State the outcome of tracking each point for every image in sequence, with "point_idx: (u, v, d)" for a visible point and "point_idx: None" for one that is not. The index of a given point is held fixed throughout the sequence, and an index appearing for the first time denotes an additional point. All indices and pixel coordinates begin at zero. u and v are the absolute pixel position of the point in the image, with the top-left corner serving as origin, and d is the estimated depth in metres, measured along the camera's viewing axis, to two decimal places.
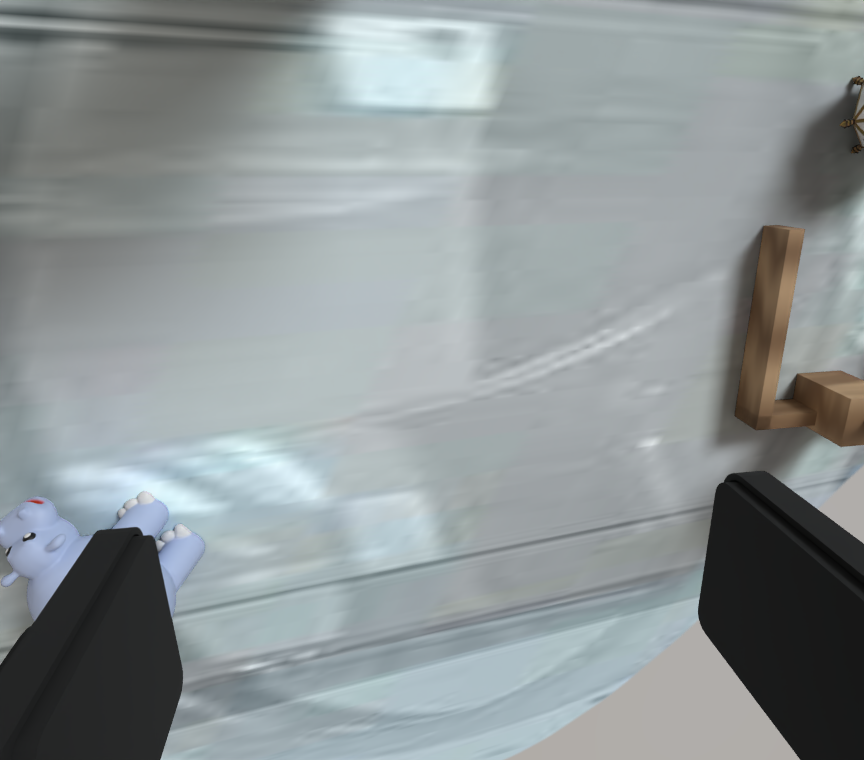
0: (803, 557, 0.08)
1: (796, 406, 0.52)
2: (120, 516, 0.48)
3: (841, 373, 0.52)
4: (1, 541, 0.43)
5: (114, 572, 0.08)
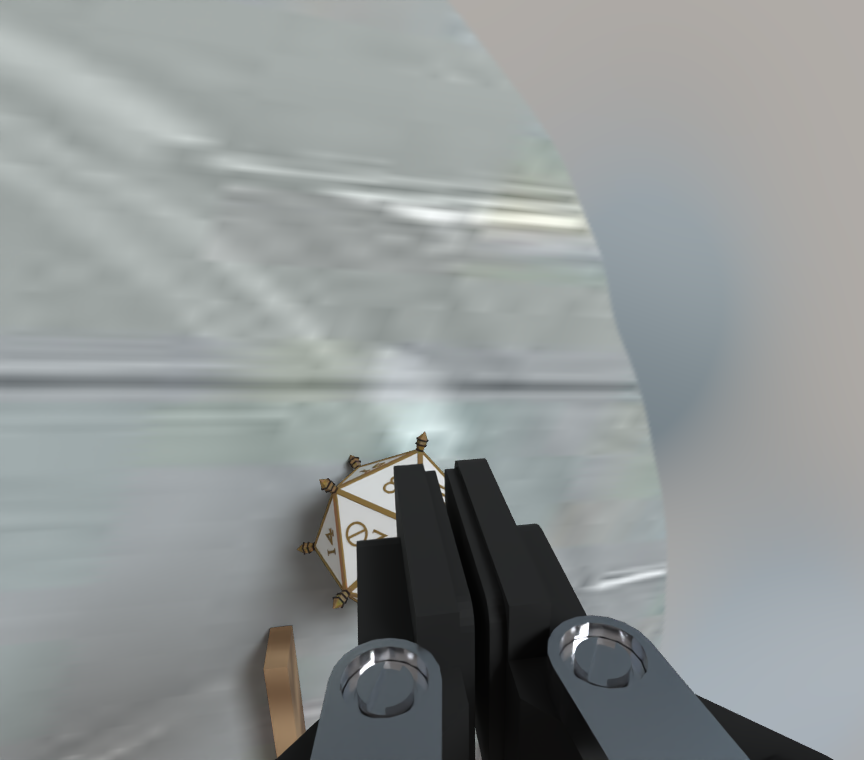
0: (465, 535, 0.09)
1: None
2: None
3: None
4: None
5: None
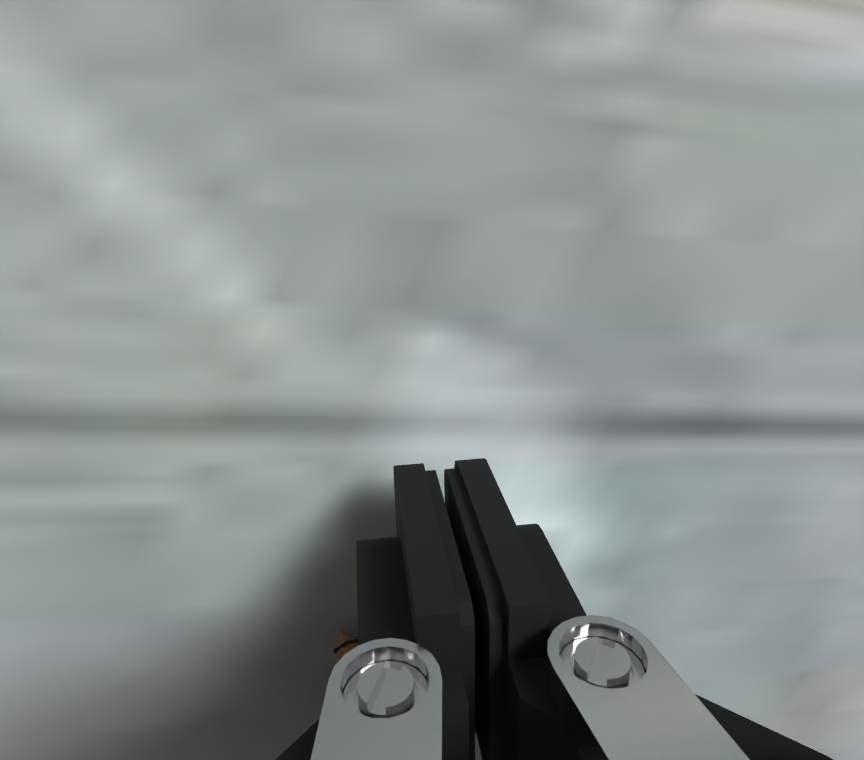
0: (465, 535, 0.09)
1: None
2: None
3: None
4: None
5: (430, 495, 0.10)
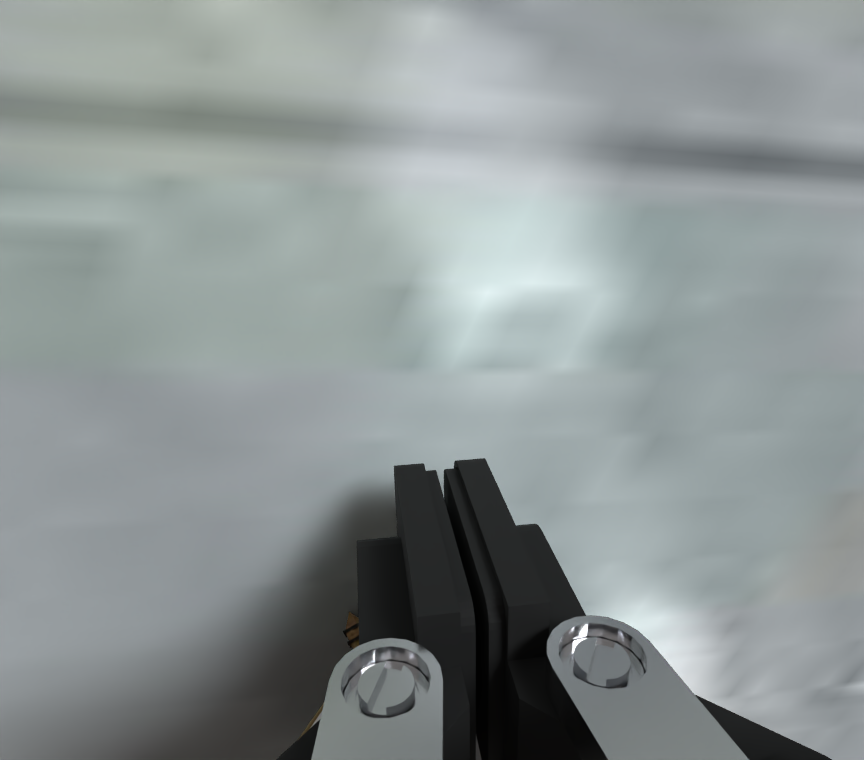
0: (464, 535, 0.09)
1: None
2: None
3: None
4: None
5: None
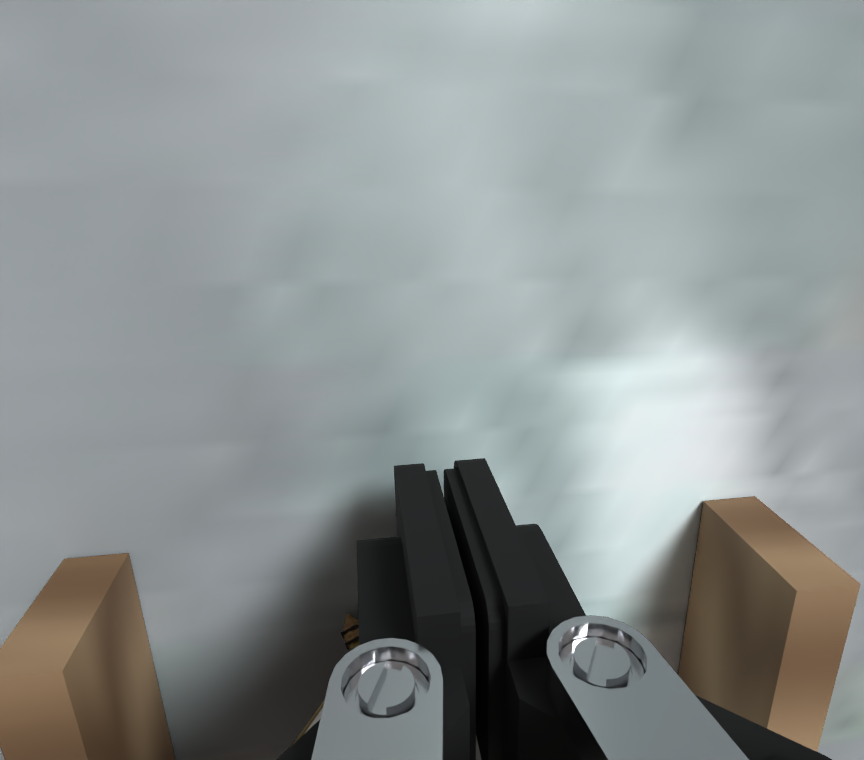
0: (464, 535, 0.09)
1: None
2: None
3: None
4: None
5: None
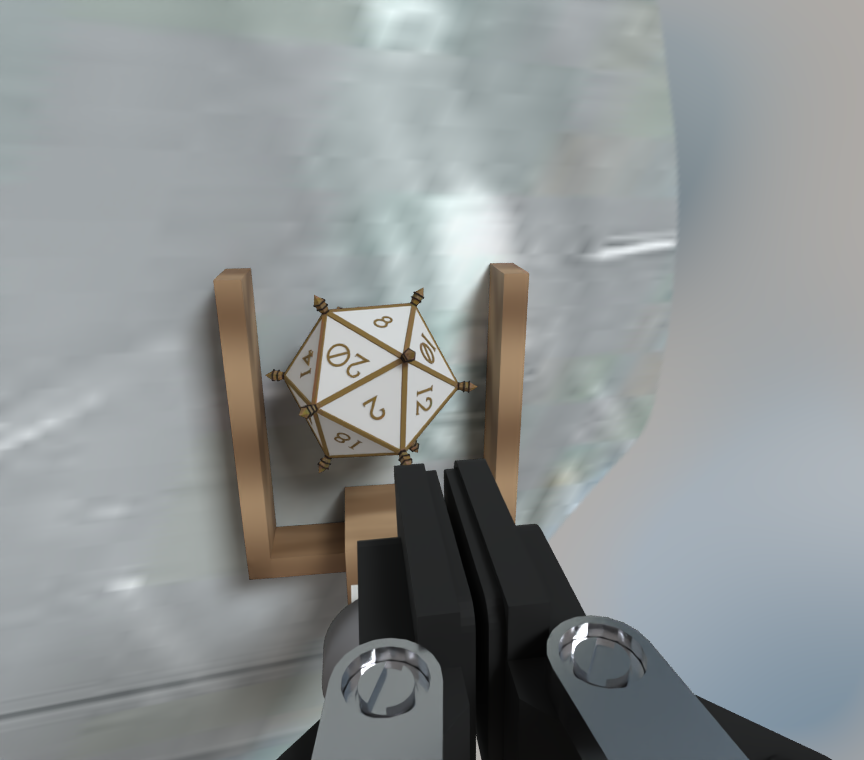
0: (464, 535, 0.09)
1: (331, 539, 0.34)
2: None
3: None
4: None
5: None
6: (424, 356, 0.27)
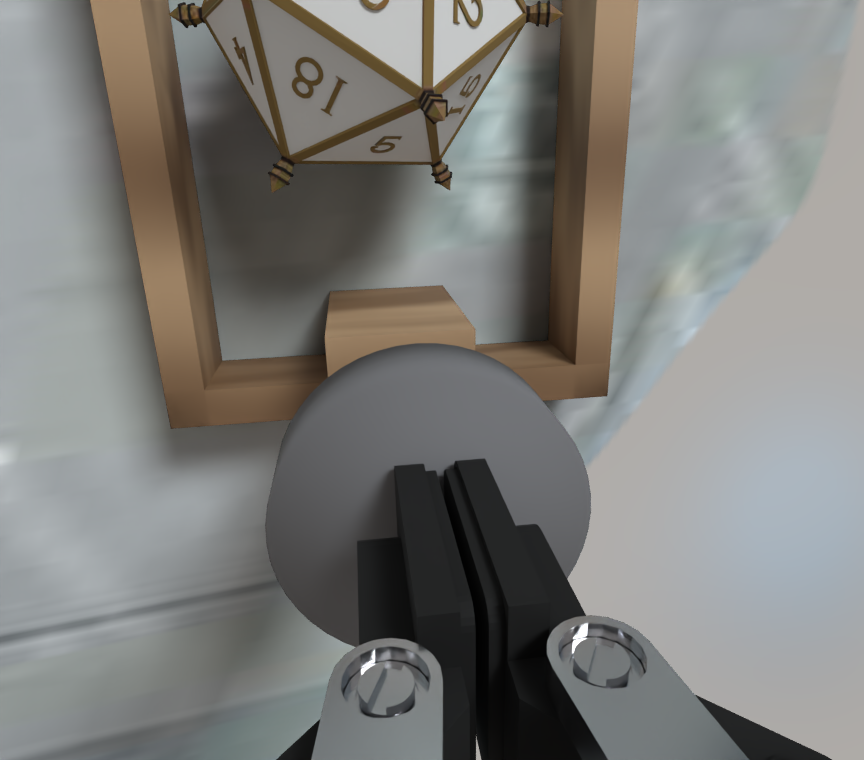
0: (464, 535, 0.09)
1: (309, 369, 0.21)
2: None
3: (429, 290, 0.21)
4: None
5: None
6: None
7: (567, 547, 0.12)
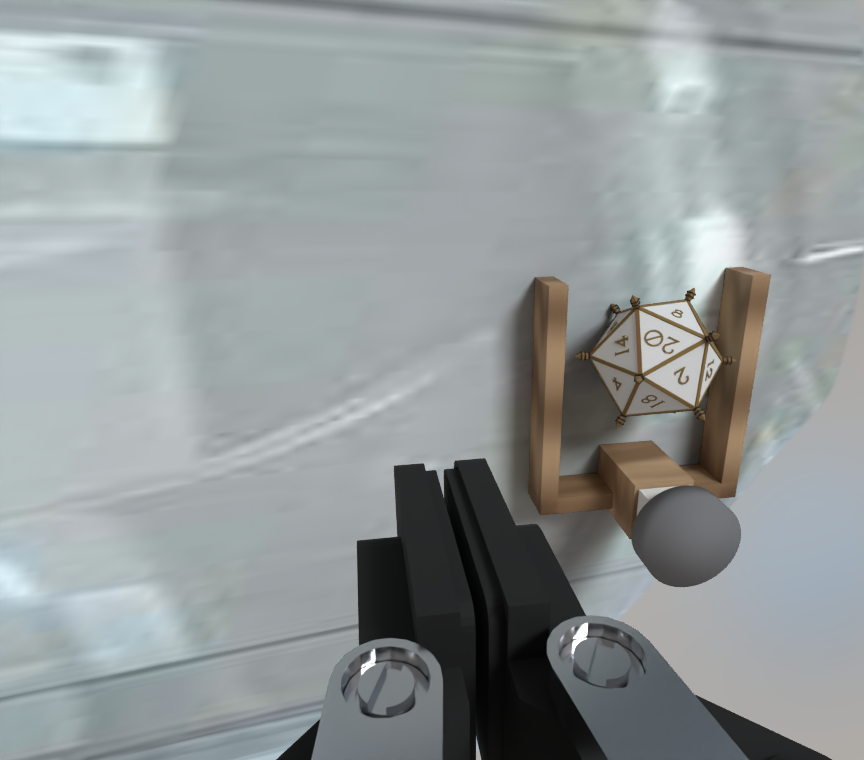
0: (464, 535, 0.09)
1: (594, 484, 0.44)
2: None
3: (648, 445, 0.44)
4: None
5: None
6: None
7: (732, 551, 0.37)
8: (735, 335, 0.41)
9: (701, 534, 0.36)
